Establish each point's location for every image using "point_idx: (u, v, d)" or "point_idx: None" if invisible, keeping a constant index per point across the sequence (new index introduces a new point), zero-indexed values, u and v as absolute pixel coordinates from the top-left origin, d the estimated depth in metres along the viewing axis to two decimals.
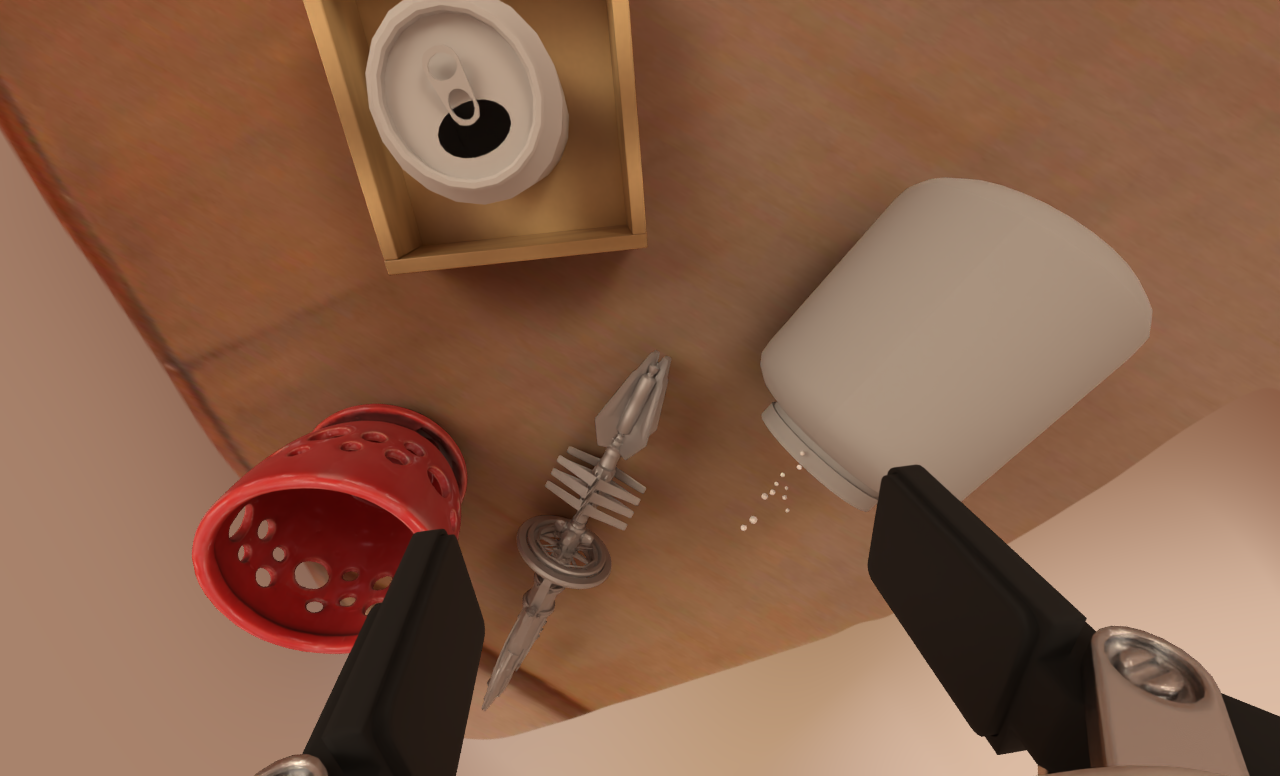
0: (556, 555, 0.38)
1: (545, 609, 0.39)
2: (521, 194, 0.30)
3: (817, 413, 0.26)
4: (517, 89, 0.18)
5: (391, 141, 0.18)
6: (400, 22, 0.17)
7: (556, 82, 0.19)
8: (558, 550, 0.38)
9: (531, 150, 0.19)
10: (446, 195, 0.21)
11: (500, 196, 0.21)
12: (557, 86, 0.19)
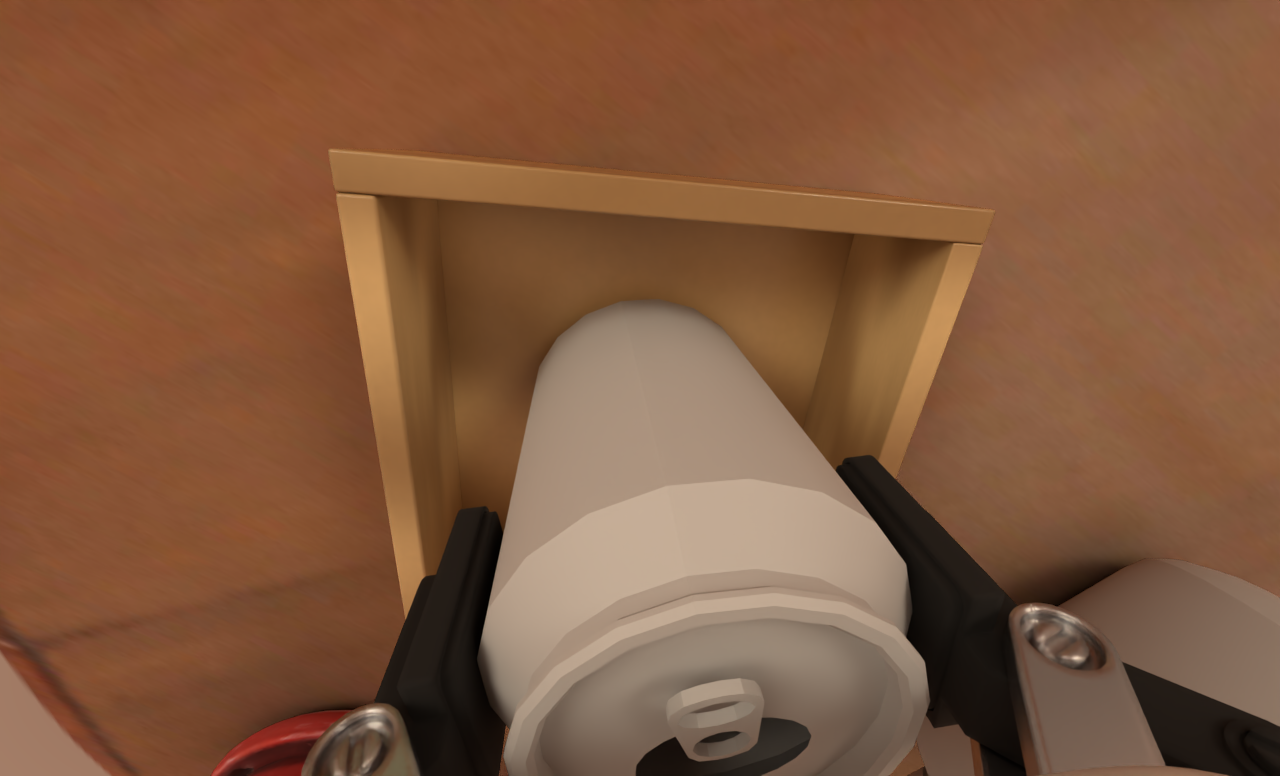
0: None
1: None
2: None
3: None
4: (851, 704, 0.08)
5: None
6: (645, 640, 0.06)
7: None
8: None
9: None
10: None
11: None
12: None
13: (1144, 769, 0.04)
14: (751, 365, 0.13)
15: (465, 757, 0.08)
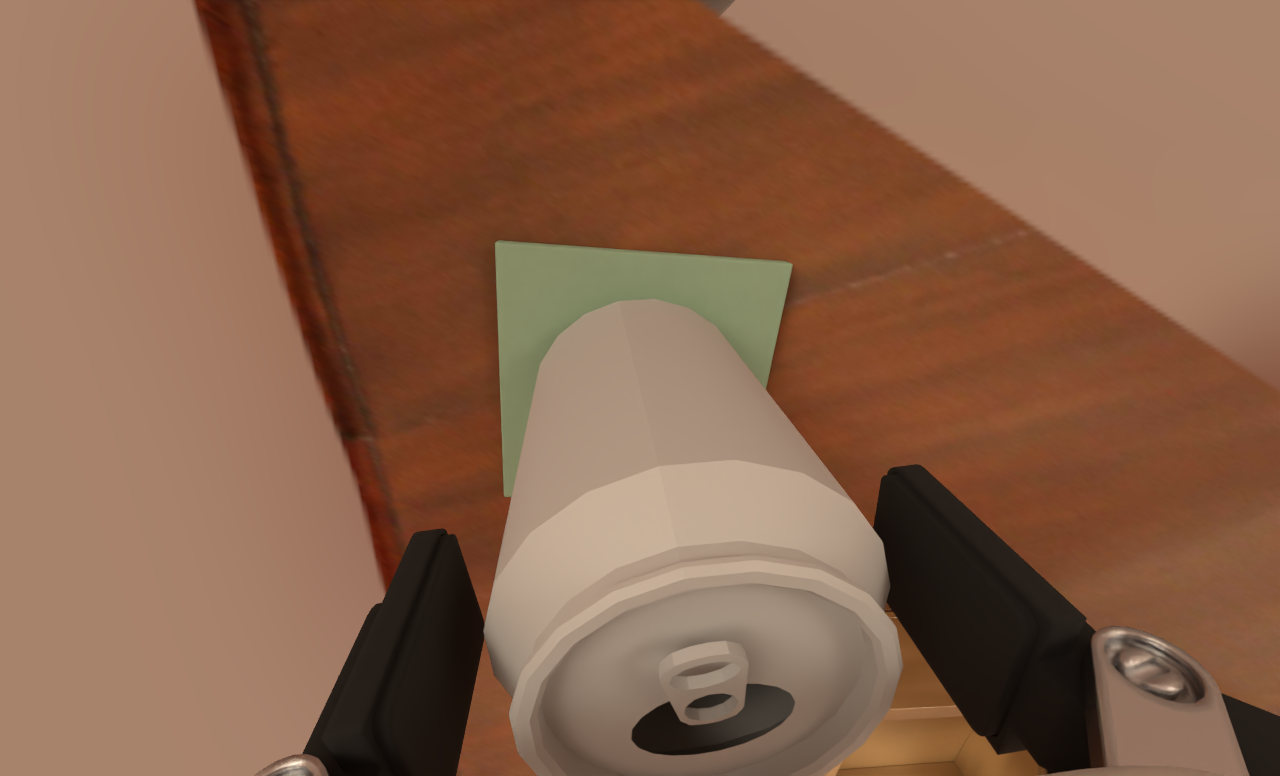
0: None
1: None
2: (875, 745, 0.31)
3: None
4: (831, 672, 0.08)
5: (533, 766, 0.08)
6: (638, 603, 0.06)
7: None
8: None
9: (823, 772, 0.09)
10: None
11: (703, 752, 0.10)
12: None
13: (1144, 769, 0.04)
14: None
15: None
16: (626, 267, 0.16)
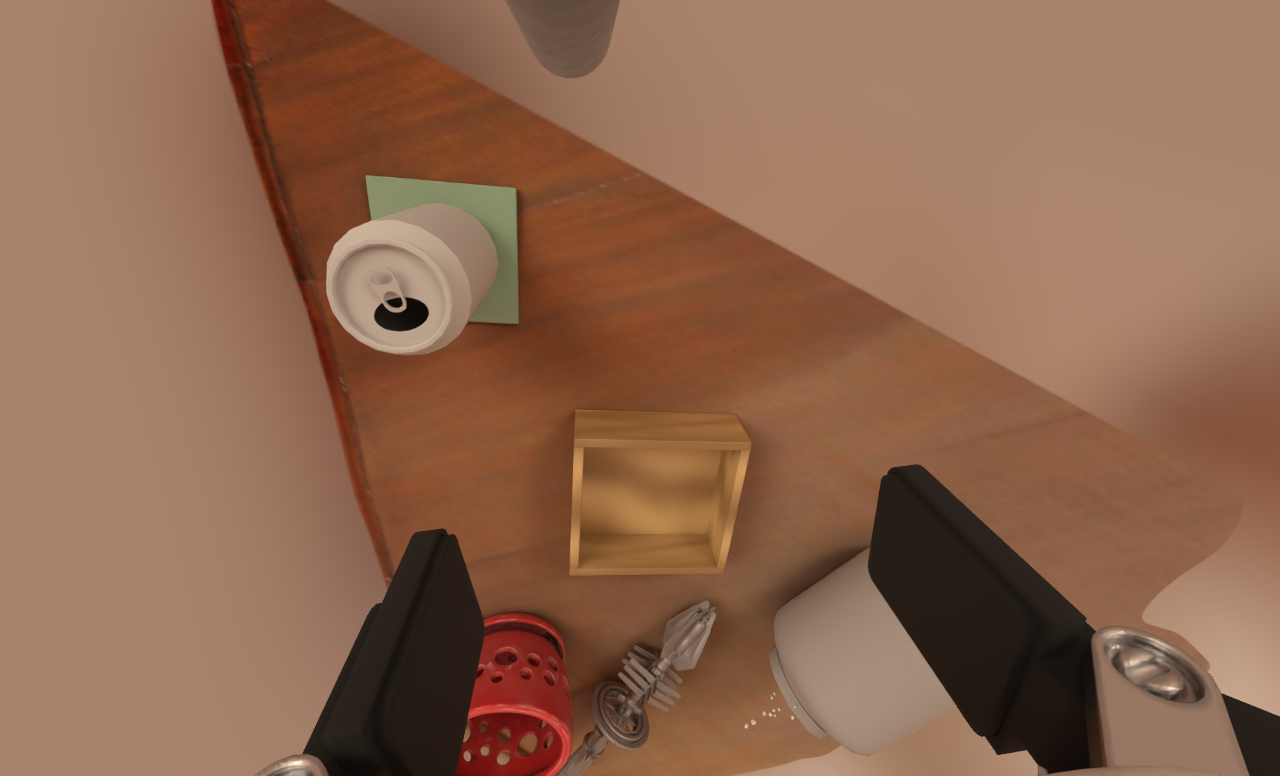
0: (614, 718, 0.55)
1: (599, 752, 0.56)
2: (647, 514, 0.48)
3: (808, 695, 0.45)
4: (436, 295, 0.26)
5: (337, 317, 0.25)
6: (355, 249, 0.24)
7: (468, 287, 0.27)
8: (617, 716, 0.55)
9: (440, 335, 0.26)
10: None
11: (418, 352, 0.28)
12: (468, 290, 0.27)
13: (1144, 769, 0.04)
14: (465, 223, 0.31)
15: None
16: (431, 189, 0.34)
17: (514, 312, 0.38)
